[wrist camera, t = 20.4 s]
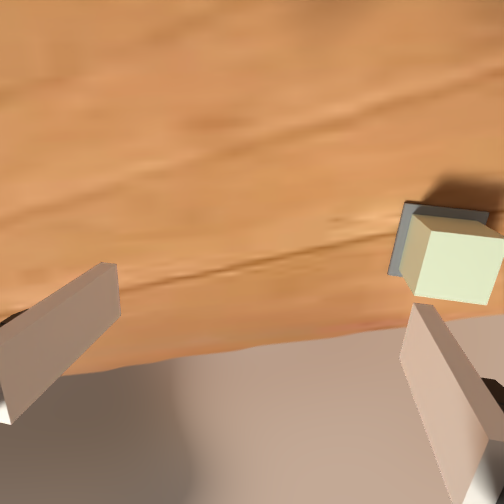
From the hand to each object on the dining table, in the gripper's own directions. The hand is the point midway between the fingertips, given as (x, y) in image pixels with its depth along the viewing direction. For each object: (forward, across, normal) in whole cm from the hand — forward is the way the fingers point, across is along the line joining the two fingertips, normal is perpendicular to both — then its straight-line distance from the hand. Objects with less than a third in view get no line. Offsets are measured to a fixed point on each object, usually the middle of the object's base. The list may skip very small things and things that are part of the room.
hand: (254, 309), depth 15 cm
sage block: (+28, +17, -5) cm, 33 cm away
